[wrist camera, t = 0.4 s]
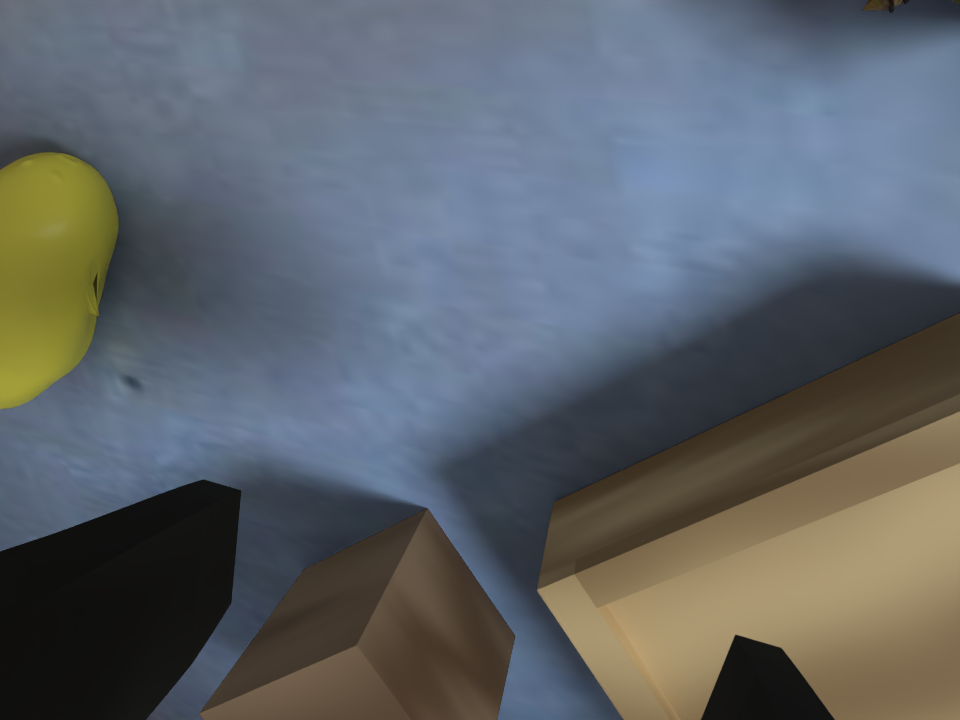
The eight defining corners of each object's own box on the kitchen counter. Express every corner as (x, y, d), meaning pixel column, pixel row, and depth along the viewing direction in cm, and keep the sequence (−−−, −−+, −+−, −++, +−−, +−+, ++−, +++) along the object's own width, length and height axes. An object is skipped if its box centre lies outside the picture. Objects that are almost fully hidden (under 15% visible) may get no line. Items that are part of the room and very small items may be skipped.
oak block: (1191, 686, 18) (1343, 835, 14) (750, 806, 22) (777, 949, 18) (999, 294, 16) (1117, 344, 12) (553, 501, 20) (537, 590, 16)
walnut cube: (515, 634, 22) (478, 809, 16) (390, 685, 23) (316, 860, 18) (428, 507, 21) (356, 645, 15) (304, 569, 23) (198, 713, 17)
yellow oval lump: (183, 204, 19) (82, 222, 16) (83, 411, 22) (-22, 465, 19) (59, 115, 19) (-71, 112, 16) (-25, 334, 22) (-152, 374, 19)
